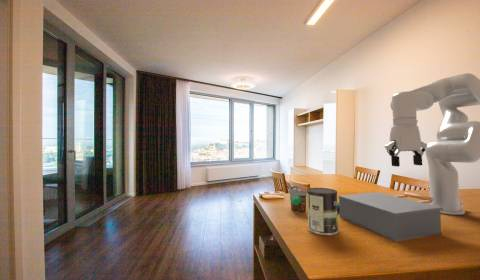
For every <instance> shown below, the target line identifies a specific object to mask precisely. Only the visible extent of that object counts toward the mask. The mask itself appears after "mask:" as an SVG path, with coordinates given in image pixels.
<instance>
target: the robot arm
mask: <svg viewBox="0 0 480 280" xmlns="http://www.w3.org/2000/svg"><path fill="white" fill-rule="evenodd" d="M435 103H438V105H439V108H440V109H439V110H440V111H441V114H442V120H441V122H440V124H439V127H438V130H437V132H436V139H437V140H434V141H431V142H428V143H425V142H423V141H422V139H421V133H420V130H419V126H418V123H419V122H418V121H419V120H418V119H417V116H418V115H417V112H419V111H424V110H425V111H426V110H428V109H430V108H431V107H432V106H433V105H434V104H435ZM473 106H480V78H479V77H477V76H476V75H475V74H472V73H467V72H466V73H461V74H457V75H453V76H449V77H444V78H441V79H439V80H436V81H434V82H431V83H429V84H427V85H423V86H420V87H418V88H415V89H413V90H410V91H400V92H397V93H394V94H393V95H392V97H391V102H390V109H391V111H392V125H393V126H392V127H391V128H390V133H389V142H388V143H387V144H385V145H384V148H385V150H386V152H387V154H389V157H390V158H391V166H392V167H396V168H397V167H400V166H401V165H400V156H399V155H400V153H401V152H412V153H413V154H412V157H413V158H412V161H413V165H414V166H423V156H424V153H425V157H426V160H427V165H428V180H429V181H428V183H429V185H428V186H429V197H432V198H433V201H432V203H429V204H430V205H434V206H438V207H443V210H440V214H442V215H443V214H444V215H451V216H453V215H454V216H463V215H465V214H466V211H465V210H464V209H462V208H461V207H462V206H465V205H466V204H465V202H464V201H462V200H461V201H460V191H459V190H460V189H459V188H460V187H459V172H458V170H457V168H456V167H455V166H454V165H453V164H452V163H468V164H470V163H476V162H479V160H480V121H479V120H477V121H476V120H473V121H472V120H469V116H468V115H467V114H466V113H465V112H463V111H462V110H460V109H458V108H464V107H466V108H467V107H473Z"/></svg>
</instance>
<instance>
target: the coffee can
mask: <svg viewBox="0 0 480 280" xmlns="http://www.w3.org/2000/svg"><path fill="white" fill-rule="evenodd" d="M306 193H307V196H306V203H307V230H308V231H309V232H311V233H313V234H317V235H321V236H336V235H338V233H339V224H338V223H339V219H338V214H339V213H337V202H338V191H337V190H336V189H334V188H327V187H326V188H325V187H309V188H307V189H306Z"/></svg>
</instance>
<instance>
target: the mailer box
mask: <svg viewBox="0 0 480 280" xmlns="http://www.w3.org/2000/svg"><path fill="white" fill-rule="evenodd" d="M338 199H339V200H338V202H339V207H340V213H339V218H341V219H342V220H345V221H347V222H350V223H352V224H354V225H357V226H359V227H361V228H362V229H365V230H367V231H369V232H371V233H374V234H376V235H378V236H381V237H383V238H385V239H388V240H390V241H392V242H394V243H398V242H404V241H409V240H410V241H411V240H414V239H420V238H427V237H431V236H438V235H439V236H440V235H442V219H441V213H440V210H438V211H430V212H422V213H414V214H407V215H399V216H394V215H391V214H387V213H384V212H381V211H378V210H375V209H372V208H369V207H366V206H363V205H360V204H357V203H354V202H351V201H348V200H344V199H341V198H339V197H338Z"/></svg>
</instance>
